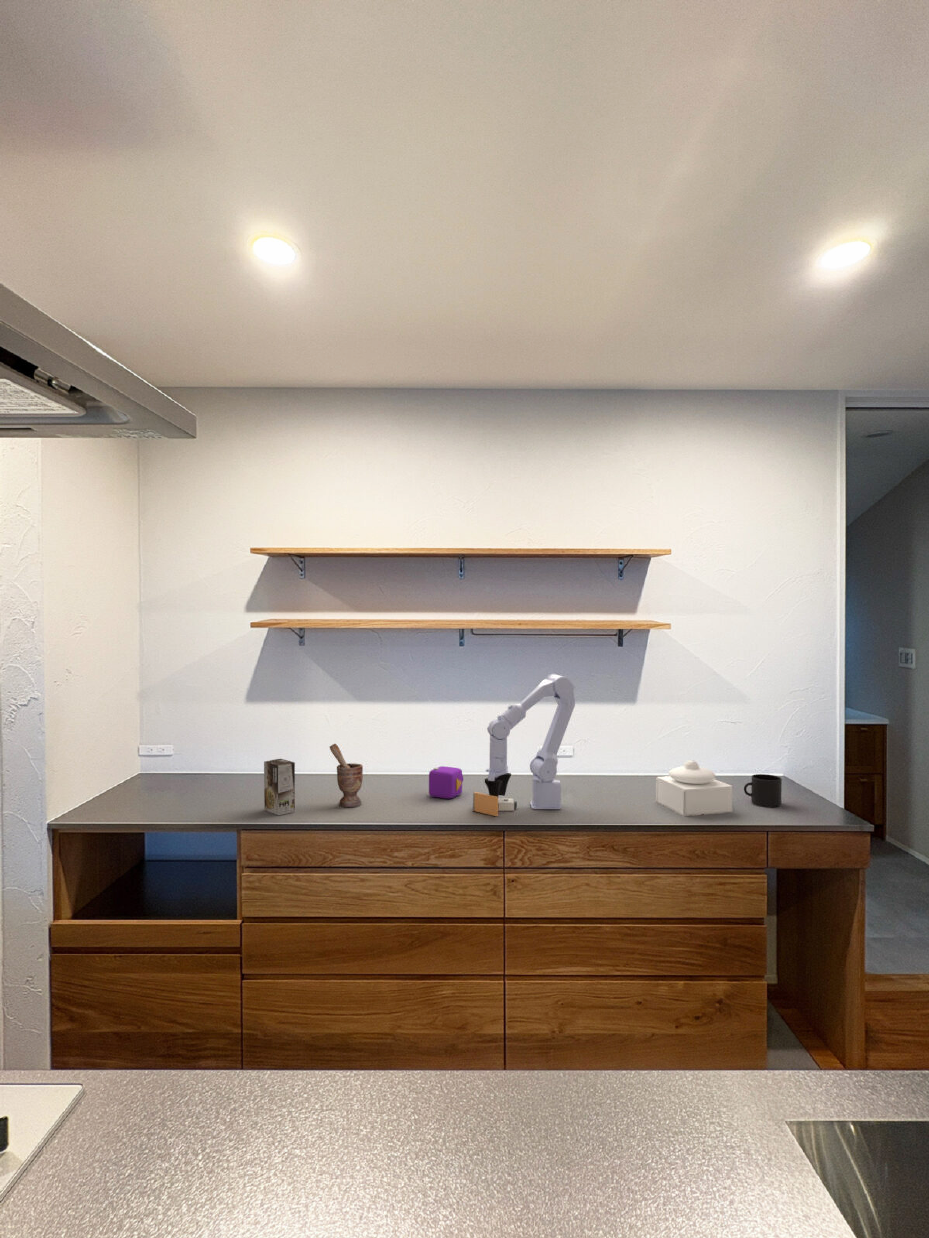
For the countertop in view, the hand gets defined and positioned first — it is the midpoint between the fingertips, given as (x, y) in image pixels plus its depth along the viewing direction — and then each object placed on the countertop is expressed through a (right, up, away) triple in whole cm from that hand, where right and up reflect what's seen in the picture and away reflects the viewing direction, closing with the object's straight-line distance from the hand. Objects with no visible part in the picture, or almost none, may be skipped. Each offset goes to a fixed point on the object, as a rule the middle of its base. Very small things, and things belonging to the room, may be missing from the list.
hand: (497, 798), depth 240 cm
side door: (-4, -4, -5) cm, 7 cm away
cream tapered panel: (-1, -4, +1) cm, 4 cm away
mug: (+90, -4, +9) cm, 91 cm away
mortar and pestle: (-51, -4, +5) cm, 51 cm away
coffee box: (-71, -4, -3) cm, 71 cm away
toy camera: (-17, -4, +19) cm, 26 cm away
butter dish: (+65, -4, +4) cm, 65 cm away
